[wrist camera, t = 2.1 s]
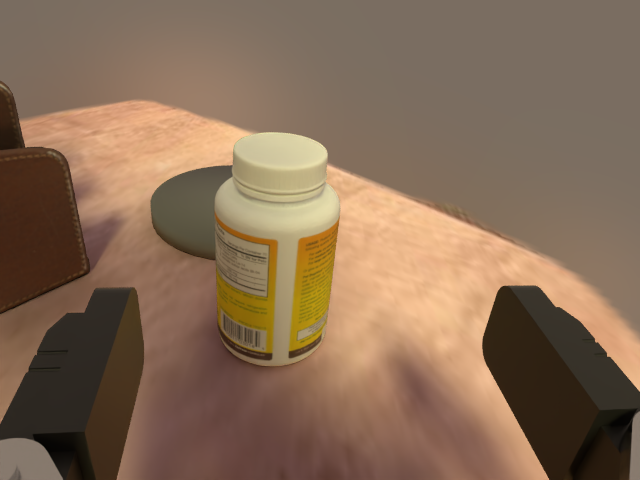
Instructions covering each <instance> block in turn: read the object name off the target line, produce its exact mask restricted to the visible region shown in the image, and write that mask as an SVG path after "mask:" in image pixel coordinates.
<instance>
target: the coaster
mask: <svg viewBox="0 0 640 480" xmlns="http://www.w3.org/2000/svg"><path fill="white" fill-rule="evenodd" d="M232 166H233V165H231V166H214V167H207V168H201V169H196V170H192V171H188V172H185V173H182V174H180V175H177V176H175V177H173V178H171V179H169V180H167V181H166V182H164V183H163V184H162V185H160V186H159V187H158V188H157V190H156V191H155V192H154V194H153V195H152V199H151V215H152V223H153V227H154V229H155V231H156V232H157V234H158V235H159V236H160V237H161V238H162V239H163V240H164V241H166V242H167V243H168V244H170V245H171V246H173V247H175V248H177V249H179V250H181V251H183V252H186V253H189V254H192V255H195V256H198V257H203V258H207V259H213V260H216V244H215V210H214V207H215V196H216V193H217V191H218V190H219V188H220V187H221V185H222V184H223V183H224V182H226V181H227V180H228V179H230V178H231V177H233V174H232Z"/></svg>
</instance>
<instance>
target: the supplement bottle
mask: <svg viewBox="0 0 640 480" xmlns="http://www.w3.org/2000/svg"><path fill="white" fill-rule="evenodd" d="M327 159H328V154H327V151H326V149H325V147H324V146H322V145H321V144H320V143H318V142H316V141H314V140H312V139H310V138H307V137H304V136H300V135H295V134H289V133H275V132H268V133H258V134H252V135H249V136H246V137H243V138H241V139H240V140H238V141H237V142H236V143H235V145H234V149H233V166H232V174H233V177H231V178H230V179H228V180H227V181H226V182H224V183H223V184H222V185H221V187H220V188H219V190H218V191H217V193H216V196H215V207H214V210H215V244H216V280H217V314H218V330H219V335H220V338H221V340H222V342H223V343H224V345H225V346H226V348H227V349H228V350H229V351H230V352H231V353H233V354H234V355H235V356H237V357H238V358H240V359H242V360H244V361H247V362H249V363H253V364H256V365H261V366H283V365H289V364H292V363H296V362H298V361H300V360H303V359H304V358H306V357H308V356H309V355H311V354H312V353H313V352H314V351H315V350H316V349H317V348H318V347H319V346H320V344H321V342H322V340H323V338H324V335H325V331H326V325H327V316H328V308H329V299H330V291H331V283H332V275H333V266H334V258H335V250H336V242H337V234H338V225H339V217H340V201H339V198H338V195H337V193H336V192H335V191H334V189H333V188H332V187H331V186H330V185H329V184H327V183H326V179H327V172H326V169H327Z"/></svg>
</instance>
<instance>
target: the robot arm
mask: <svg viewBox="0 0 640 480" xmlns="http://www.w3.org/2000/svg"><path fill="white" fill-rule="evenodd" d="M482 349H483V356H484V359H485V362H486V364H487V366H488V368H489V370H490V372H491V374H492V375H493V377H494V379H495V381H496V383H497V385H498V386H499V388H500V390H501V392H502V394H503V396H504V397H505V399H506V401H507V403H508V405H509V407H510V408H511V410H512V412H513V414H514V416H515V418H516V419H517V421H518V423H519V425H520V427H521V429H522V430H523V432H524V434H525V436H526V438H527V439H528V441H529V443H530V445H531V447H532V449H533V450H534V452H535V454H536V456H537V458H538V460H539V461H540V463H541V465H542V467H543V469H544V471H545V472H546V474H547V476H548V478H549V480H640V392H639V391H638V389H637V388H636V387H635V386H634V385H633V383H632V382H631V381H630V380H629V379H628V377H627V376H626V375H625V374H624V373H623V372H622V370H621V369H620V368H619V367H618V366H617V364H616V363H615V362H614V361H613V360H612V359H611V357H607V353H606V351H605V350H604V349H603V348H602V347H601V346H600V344H599V343H598V342H597V343H595V338H594V337H593V336H592V335H591V334H590V333H589V331H588V330H587V329H586V328H585V327H584V325H583V324H582V323H581V322H580V321H578V320H577V319H576V318H574V317H573V316H571V315H570V314H569V313H567V312H566V311H564V310H563V309H561V308H560V307H555V306H554V304H553V303H552V302H551V301H550V300H549V298H548V297H547V296H546V295H545V293H544V292H543V291H542V290H541V289H540V288H539V287H538V286H502V287H501V288H500V289H499V291H498V292H497V295H496V298H495V301H494V305H493V308H492V311H491V314H490V317H489V320H488V323H487V326H486V330H485V333H484V336H483V342H482ZM143 364H144V341H143V334H142V326H141V319H140V311H139V303H138V296H137V291H136V289H135V288H96V289H95V290H94V292H93V294H92V296H91V299H90V301H89V303H88V306H87V308H86V310H85V313H67V314H66V315H64V316H63V317H62V318H61V319H60V320H59V321H58V322H57V323H55V324H54V325H53V326H52V327H51V328H50V329H49V330H48V331H47V332H46V334H45V336H44V338H43V340H42V342H41V344H40V346H39V348H38V350H37V355H35V356H34V358H33V360H32V362H31V364H30V366H29V371H28V373H26V374H25V376H24V378H23V380H22V382H21V384H20V386H19V388H18V390H17V392H16V394H15V396H14V398H13V400H12V402H11V404H10V406H9V408H8V410H7V412H6V414H5V416H4V418H3V420H2V422H1V424H0V480H116V479H117V475H118V471H119V467H120V463H121V458H122V454H123V450H124V446H125V442H126V438H127V434H128V429H129V425H130V421H131V417H132V413H133V409H134V405H135V401H136V396H137V392H138V388H139V384H140V380H141V376H142V371H143Z"/></svg>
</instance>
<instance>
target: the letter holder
mask: <svg viewBox="0 0 640 480" xmlns="http://www.w3.org/2000/svg"><path fill="white" fill-rule="evenodd" d="M89 270H90V264H89V259H88V257H87V255H86V250H85V244H84V239H83V235H82V229H81V225H80V219H79V214H78V210H77V204H76V200H75V193H74V190H73V184H72V179H71V174H70V169H69V165H68V162H67V160H66V158H65V157H64V156H63V155H62V154H61V153H60V152H58V151H56V150H54V149H50V148H43V147H27V148H25V144H24V140H23V137H22V132H21V127H20V123H19V118H18V113H17V109H16V104H15V100H14V97H13V94H12V92H11V91H10V89H9V87H8V86H7V85H6V84H4V83H3V82H2V81H0V313H2V312H4V311H6V310H7V309H10V308H13V307H15V306H17V305H19V304H21V303H23V302H26V301H28V300H30V299H32V298H35V297H36V296H39V295H41V294H43V293H45V292H47V291H50V290H52V289H54V288H56V287H58V286H61V285H63V284H65V283H67V282H69V281H71V280H74V279H76V278H78V277H81V276H83V275H85V274H87V273H88V272H89Z"/></svg>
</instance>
